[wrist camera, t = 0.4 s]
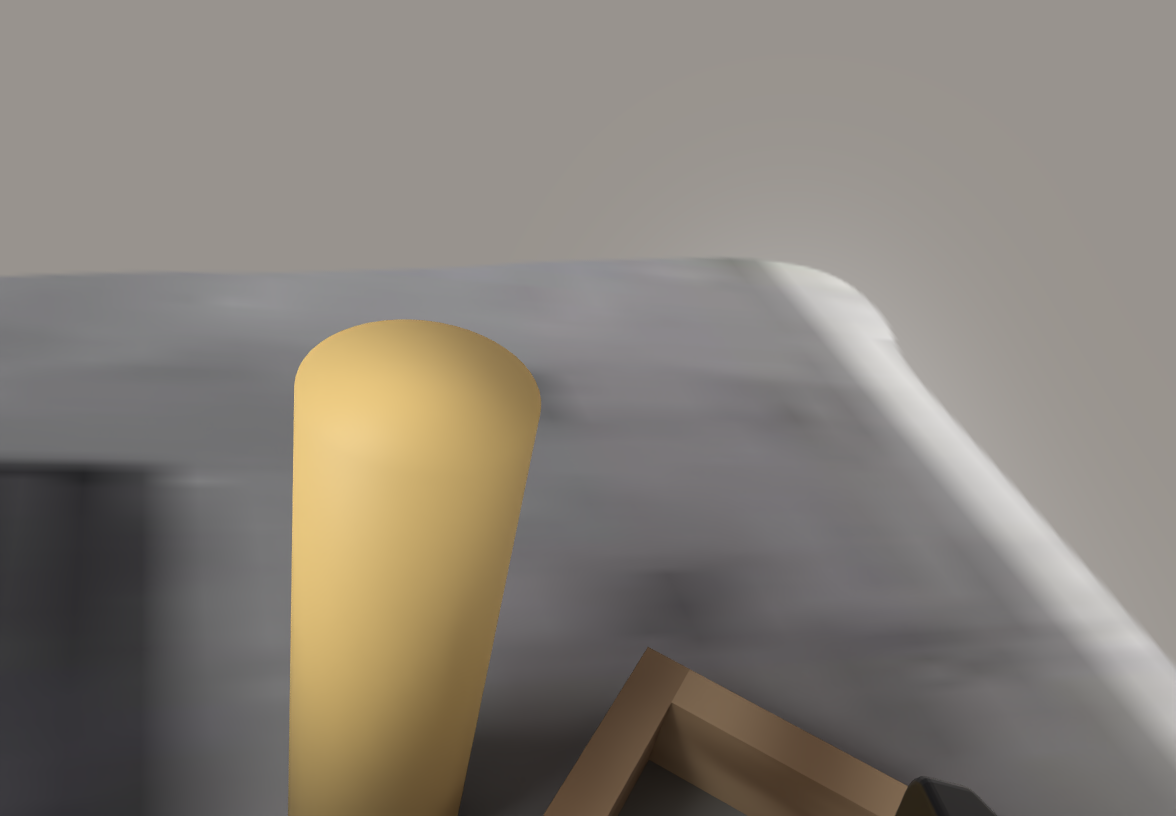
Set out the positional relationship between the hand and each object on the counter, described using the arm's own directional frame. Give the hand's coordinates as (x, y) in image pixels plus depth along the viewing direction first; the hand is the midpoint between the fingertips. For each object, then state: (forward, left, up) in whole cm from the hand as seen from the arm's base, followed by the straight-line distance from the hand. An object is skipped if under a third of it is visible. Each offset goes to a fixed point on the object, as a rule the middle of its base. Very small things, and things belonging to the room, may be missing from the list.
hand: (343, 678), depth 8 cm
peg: (+8, +2, -17) cm, 19 cm away
